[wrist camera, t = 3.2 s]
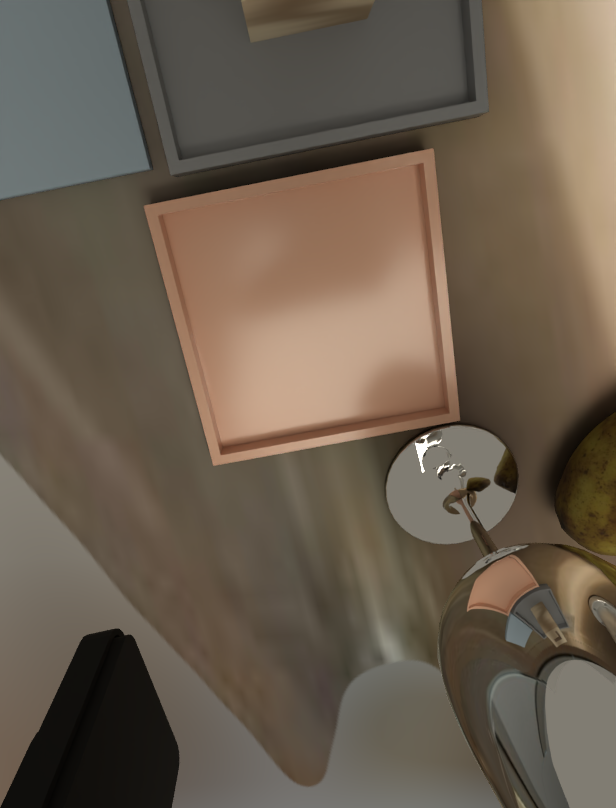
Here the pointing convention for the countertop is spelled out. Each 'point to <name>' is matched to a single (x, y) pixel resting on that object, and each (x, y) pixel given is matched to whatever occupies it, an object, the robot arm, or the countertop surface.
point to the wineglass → (516, 628)
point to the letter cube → (299, 15)
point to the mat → (64, 98)
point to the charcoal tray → (304, 78)
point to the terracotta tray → (312, 306)
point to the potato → (591, 491)
